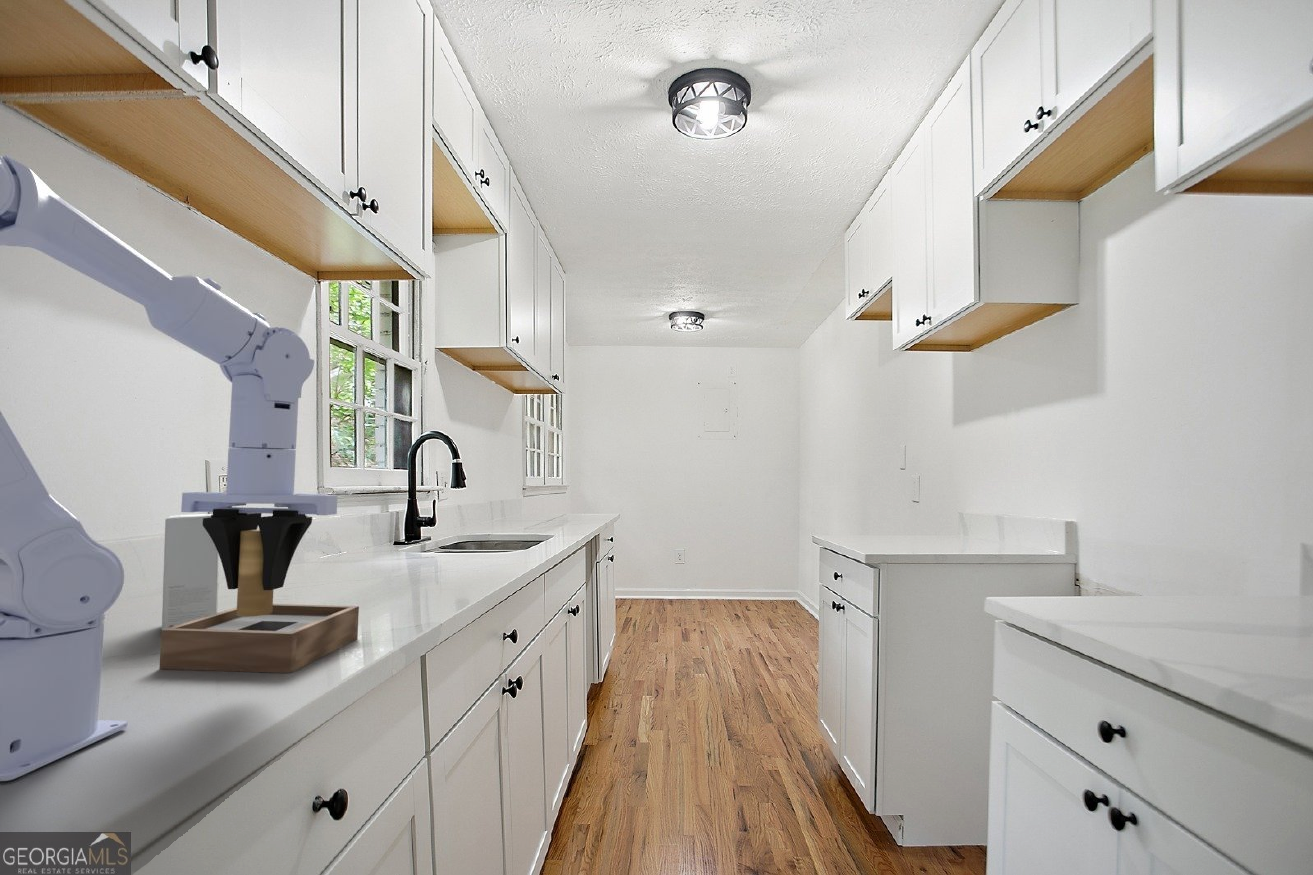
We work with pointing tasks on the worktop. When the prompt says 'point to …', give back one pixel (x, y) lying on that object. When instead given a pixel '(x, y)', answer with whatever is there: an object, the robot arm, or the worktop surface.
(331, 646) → the tray
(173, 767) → the worktop surface
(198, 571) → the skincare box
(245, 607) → the peg
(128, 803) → the worktop surface
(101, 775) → the worktop surface
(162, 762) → the worktop surface
